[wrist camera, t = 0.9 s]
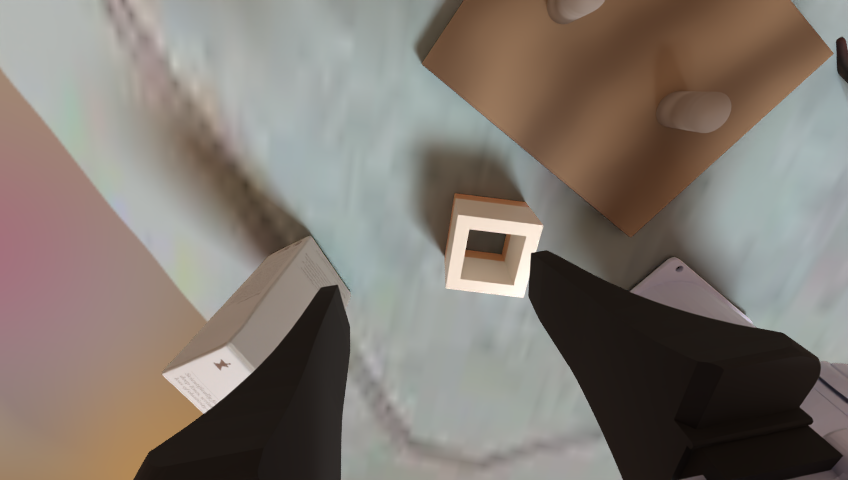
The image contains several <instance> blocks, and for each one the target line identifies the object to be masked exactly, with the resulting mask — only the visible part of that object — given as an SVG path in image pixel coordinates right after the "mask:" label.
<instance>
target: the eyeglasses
mask: <svg viewBox="0 0 848 480" xmlns="http://www.w3.org/2000/svg"><path fill="white" fill-rule="evenodd" d="M836 47H837V70H838V73H839V74H840V76H841V77H842V78H843V79H844V80H845V81H846V82H847V83H848V50H847V44H846V40H845V39H844V38H843V37H842V38H839V39H838V40H837V41H836Z"/></svg>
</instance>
